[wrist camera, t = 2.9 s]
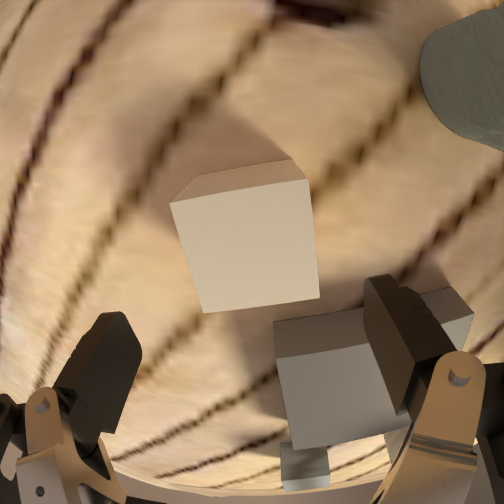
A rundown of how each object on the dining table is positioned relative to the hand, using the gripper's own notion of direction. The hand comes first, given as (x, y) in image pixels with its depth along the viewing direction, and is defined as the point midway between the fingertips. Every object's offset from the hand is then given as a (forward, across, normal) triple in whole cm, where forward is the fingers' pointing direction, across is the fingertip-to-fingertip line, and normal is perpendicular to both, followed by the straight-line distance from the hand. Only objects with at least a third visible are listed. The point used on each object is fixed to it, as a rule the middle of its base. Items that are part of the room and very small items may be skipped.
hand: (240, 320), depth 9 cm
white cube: (+11, 0, 0) cm, 11 cm away
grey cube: (+11, -1, +34) cm, 36 cm away
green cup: (+11, -17, -8) cm, 22 cm away
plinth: (+10, -8, +17) cm, 22 cm away
